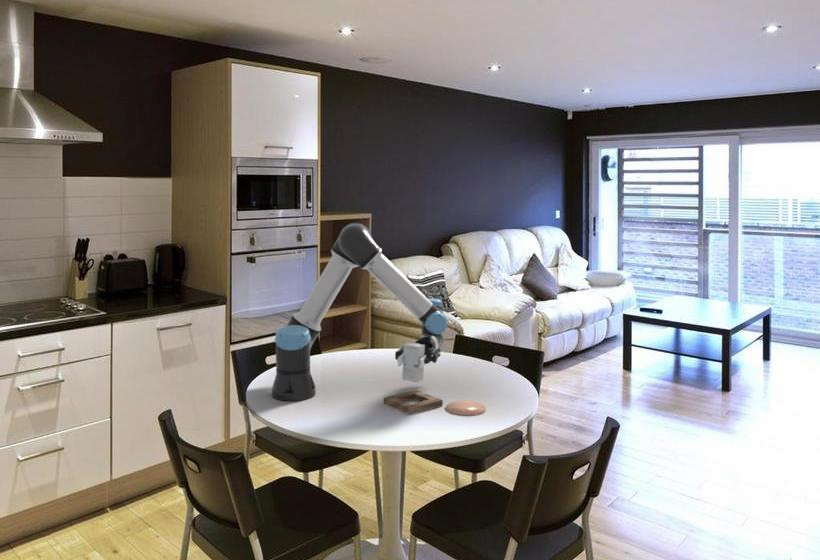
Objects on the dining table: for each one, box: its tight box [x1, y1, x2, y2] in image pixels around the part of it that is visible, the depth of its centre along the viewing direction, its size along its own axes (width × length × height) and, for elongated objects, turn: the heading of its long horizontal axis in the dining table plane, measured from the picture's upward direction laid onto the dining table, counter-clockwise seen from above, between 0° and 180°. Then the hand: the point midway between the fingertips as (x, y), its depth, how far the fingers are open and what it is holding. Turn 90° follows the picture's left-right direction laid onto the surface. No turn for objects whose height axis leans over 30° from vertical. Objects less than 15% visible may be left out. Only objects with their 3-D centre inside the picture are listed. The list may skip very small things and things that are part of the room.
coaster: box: [445, 400, 487, 416], centre depth 216 cm, size 13×13×1 cm
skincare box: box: [401, 341, 425, 383], centre depth 218 cm, size 6×4×12 cm
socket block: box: [383, 389, 444, 415], centre depth 220 cm, size 14×14×2 cm
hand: (409, 362), depth 213 cm, fingers closed on skincare box, 7 cm apart
